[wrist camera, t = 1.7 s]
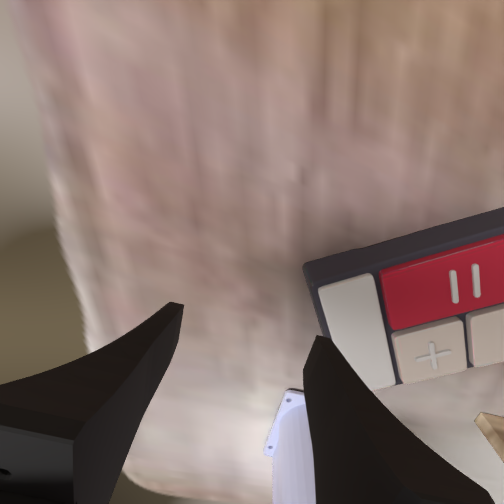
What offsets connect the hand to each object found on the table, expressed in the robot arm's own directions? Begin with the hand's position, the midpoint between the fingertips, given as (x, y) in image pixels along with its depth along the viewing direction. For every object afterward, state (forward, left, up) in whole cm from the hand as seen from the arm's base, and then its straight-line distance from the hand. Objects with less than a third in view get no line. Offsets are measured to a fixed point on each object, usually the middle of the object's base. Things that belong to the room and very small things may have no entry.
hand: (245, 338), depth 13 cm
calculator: (-1, -13, -11) cm, 17 cm away
